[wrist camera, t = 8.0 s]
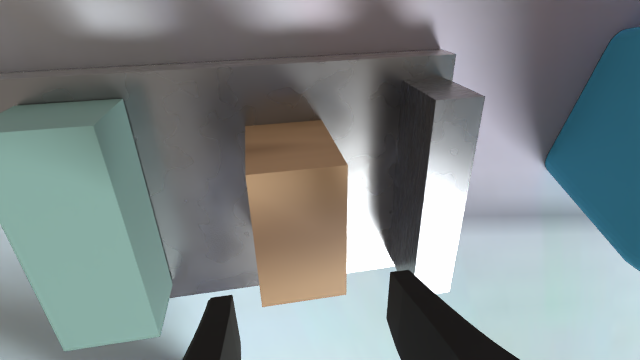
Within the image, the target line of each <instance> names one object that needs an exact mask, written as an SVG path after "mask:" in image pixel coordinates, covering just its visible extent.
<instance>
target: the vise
mask: <svg viewBox="0 0 640 360" xmlns="http://www.w3.org/2000/svg"><path fill="white" fill-rule="evenodd" d="M455 58H456V54H454V53H451V52H448V51H444V50H441V49H438V50H420V51H401V52H382V53H363V54H345V55H326V56H307V57H288V58H270V59H251V60H232V61H214V62H195V63H176V64H157V65H139V66H120V67H101V68H82V69H64V70H45V71H26V72H8V73H0V113H1V112H3V111H5V110H7V109H9V108H11V107H13V106H17V105H32V104H47V103H63V102H78V101H93V100H109V99H123V102H124V105H125V109H126V113H127V116H128V120H129V124H130V128H131V131H132V135H133V139H134V143H135V146H136V150H137V154H138V157H139V161H140V165H141V169H142V172H143V176H144V180H145V183H146V187H147V191H148V195H149V198H150V202H151V206H152V209H153V213H154V217H155V221H156V224H157V228H158V232H159V236H160V239H161V243H162V247H163V250H164V254H165V258H166V262H167V265H168V269H169V273H170V276H171V280H172V284H173V285H172V289H171V293H170V297H169V298H173V297H180V296H187V295H194V294H201V293H209V292H216V291H223V290H230V289H237V288H244V287H251V286H258V285H259V278H258V270H257V262H256V254H255V246H254V239H253V231H252V223H251V215H250V207H249V200H248V192H247V184H246V176H245V126H253V125H265V124H278V123H291V122H303V121H316V120H322V121H323V123H324V125H325V126H326V128H327V130H328V132H329V133H330V135H331V137H332V138H333V140H334V142H335V144H336V145H337V147H338V149H339V151H340V152H341V154H342V156H343V157H344V159H345V161H346V163H347V164H348V199H347V273H351V272H358V271H365V270H372V269H379V268H386V267H393V266H395V267H396V269H397V271H402V270H410V271H411V272H412V273H413V274H414V275H415V276H416V277H417V278H419V279H420V280H421V281H422V282H423V283H424V284H425V285H426V286H427V287H428V288H430V289H431V290H432V291H433V292H434V293H435V294H439V293H445V292H449V291H450V285H451V280H452V275H453V269H454V264H455V258H456V253H457V247H458V242H459V236H460V231H461V225H462V220H463V214H464V209H465V204H466V198H467V193H468V187H469V182H470V176H471V171H472V165H473V160H474V154H475V149H476V143H477V138H478V132H479V127H480V122H481V116H482V111H483V105H484V100H485V96H483V95H481V94H478V93H476V92H474V91H472V90H470V89H468V88H465V87H463V86H461V85H459V84H457V83H454V82H452V79H453V72H454V65H455Z"/></svg>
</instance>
